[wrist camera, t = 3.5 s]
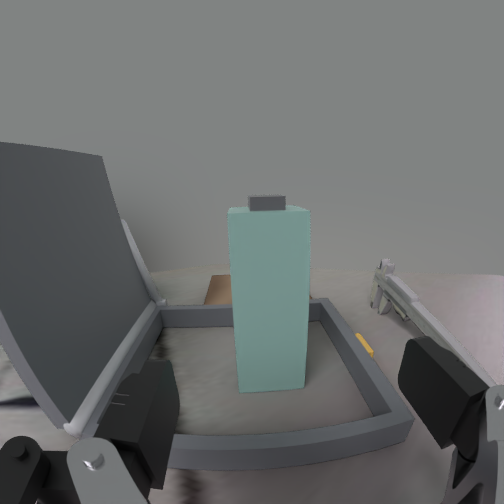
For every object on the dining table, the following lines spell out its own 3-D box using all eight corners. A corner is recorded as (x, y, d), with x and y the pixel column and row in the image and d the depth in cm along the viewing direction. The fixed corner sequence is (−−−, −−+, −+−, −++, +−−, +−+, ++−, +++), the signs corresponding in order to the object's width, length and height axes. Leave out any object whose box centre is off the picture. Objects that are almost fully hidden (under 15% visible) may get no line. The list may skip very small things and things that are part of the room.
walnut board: (203, 318, 30) (202, 309, 30) (212, 282, 41) (212, 275, 41) (315, 312, 30) (315, 303, 30) (295, 278, 42) (295, 271, 42)
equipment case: (24, 431, 11) (-51, 146, 7) (113, 317, 29) (94, 159, 25) (413, 438, 12) (462, 92, 8) (329, 311, 30) (330, 143, 26)
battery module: (239, 393, 18) (226, 198, 15) (238, 358, 22) (229, 196, 19) (303, 388, 18) (310, 196, 15) (293, 354, 23) (294, 193, 20)
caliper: (369, 309, 31) (374, 255, 29) (377, 307, 31) (382, 255, 29) (494, 417, 11) (531, 337, 9) (503, 411, 11) (537, 333, 10)
